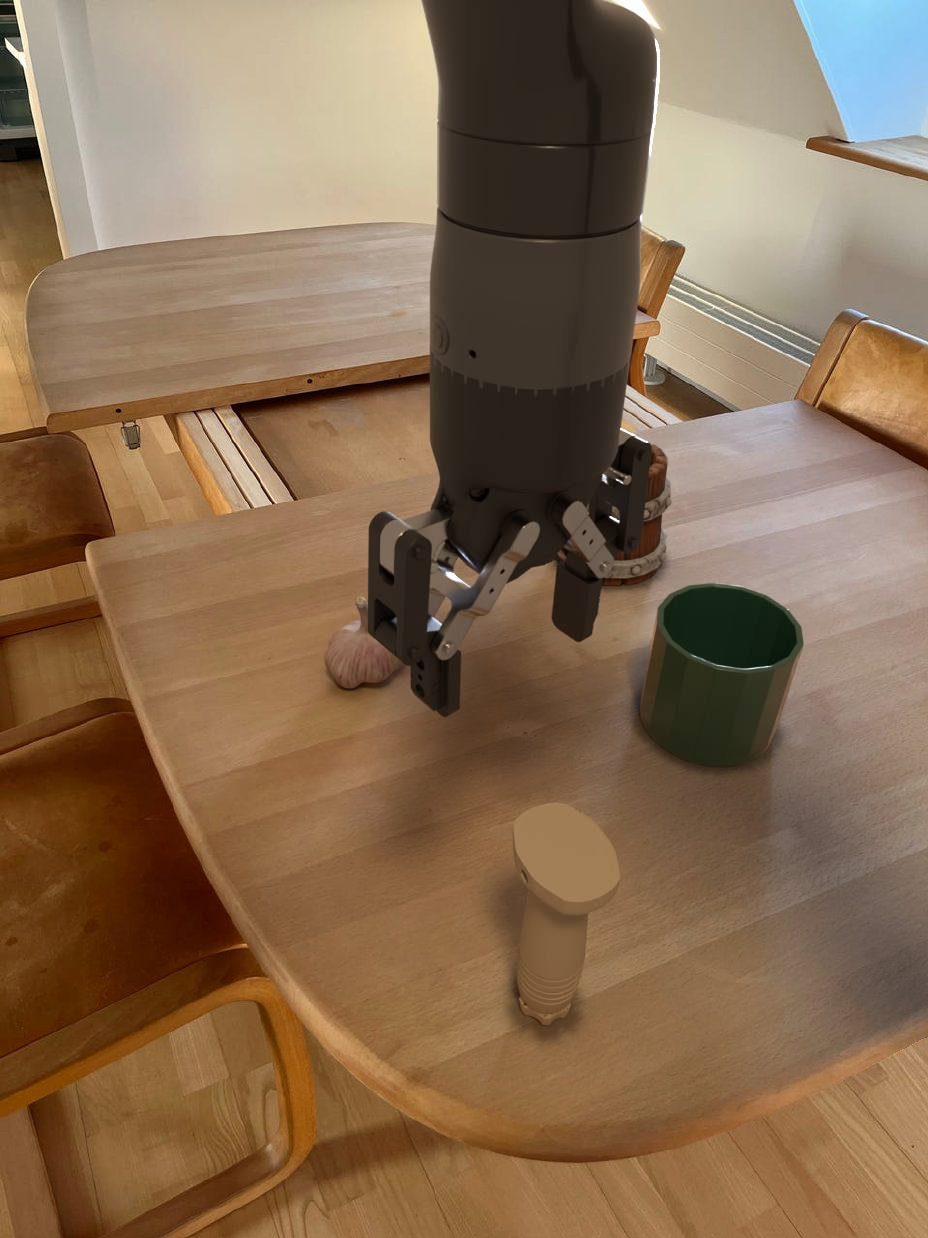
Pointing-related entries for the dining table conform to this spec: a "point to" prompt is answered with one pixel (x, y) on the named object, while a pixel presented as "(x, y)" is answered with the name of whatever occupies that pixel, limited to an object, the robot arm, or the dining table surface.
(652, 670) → the cup
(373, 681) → the garlic bulb
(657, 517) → the mug
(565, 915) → the handle
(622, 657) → the dining table surface
